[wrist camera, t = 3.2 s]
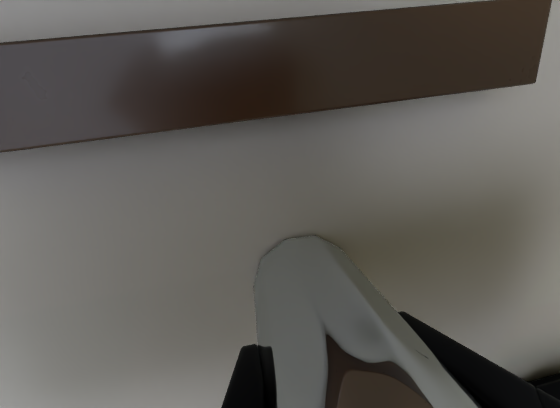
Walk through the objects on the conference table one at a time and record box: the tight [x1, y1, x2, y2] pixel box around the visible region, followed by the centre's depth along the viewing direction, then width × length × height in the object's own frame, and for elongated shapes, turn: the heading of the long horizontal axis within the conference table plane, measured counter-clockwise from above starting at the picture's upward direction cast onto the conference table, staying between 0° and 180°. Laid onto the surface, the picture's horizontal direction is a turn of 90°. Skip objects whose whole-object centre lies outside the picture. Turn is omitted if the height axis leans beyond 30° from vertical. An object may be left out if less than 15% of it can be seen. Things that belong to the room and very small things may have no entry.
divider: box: [0, 0, 552, 153], centre depth 8 cm, size 2×15×2 cm, turn 95°
